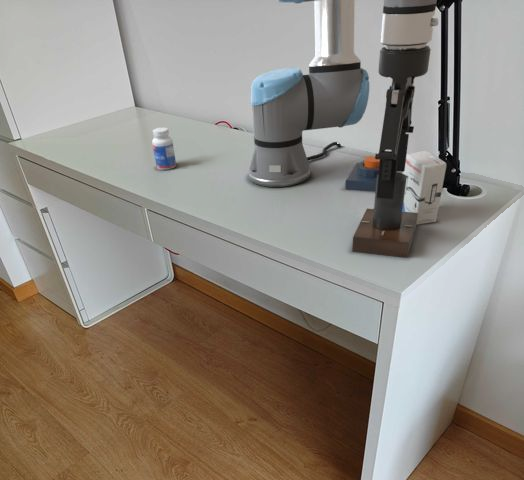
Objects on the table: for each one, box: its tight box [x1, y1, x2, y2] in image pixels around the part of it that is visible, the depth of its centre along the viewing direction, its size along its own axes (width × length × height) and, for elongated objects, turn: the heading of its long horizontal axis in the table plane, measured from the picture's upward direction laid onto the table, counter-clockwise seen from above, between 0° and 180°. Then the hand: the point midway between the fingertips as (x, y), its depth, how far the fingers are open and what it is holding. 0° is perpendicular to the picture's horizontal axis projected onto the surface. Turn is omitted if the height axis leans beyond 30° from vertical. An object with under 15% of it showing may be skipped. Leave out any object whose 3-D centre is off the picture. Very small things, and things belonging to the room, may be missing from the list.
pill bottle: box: [151, 127, 177, 171], centre depth 133 cm, size 6×5×10 cm
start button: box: [364, 155, 380, 168], centre depth 116 cm, size 4×4×2 cm
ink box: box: [402, 150, 447, 226], centre depth 99 cm, size 9×5×12 cm, turn 13°
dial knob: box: [373, 171, 407, 230], centre depth 91 cm, size 5×5×9 cm
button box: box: [345, 160, 398, 193], centre depth 118 cm, size 12×10×4 cm
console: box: [351, 208, 418, 259], centre depth 95 cm, size 13×10×3 cm
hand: (391, 183), depth 89 cm, fingers open, 13 cm apart
